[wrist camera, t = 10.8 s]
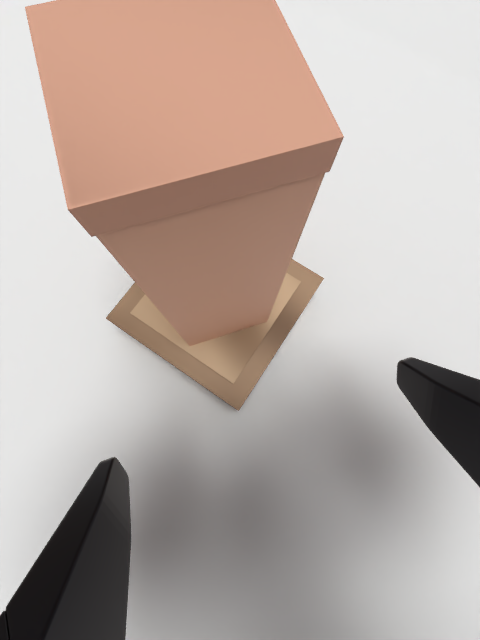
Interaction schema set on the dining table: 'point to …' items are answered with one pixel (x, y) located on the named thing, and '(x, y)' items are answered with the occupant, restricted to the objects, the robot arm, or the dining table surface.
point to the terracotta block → (186, 146)
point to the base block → (225, 351)
